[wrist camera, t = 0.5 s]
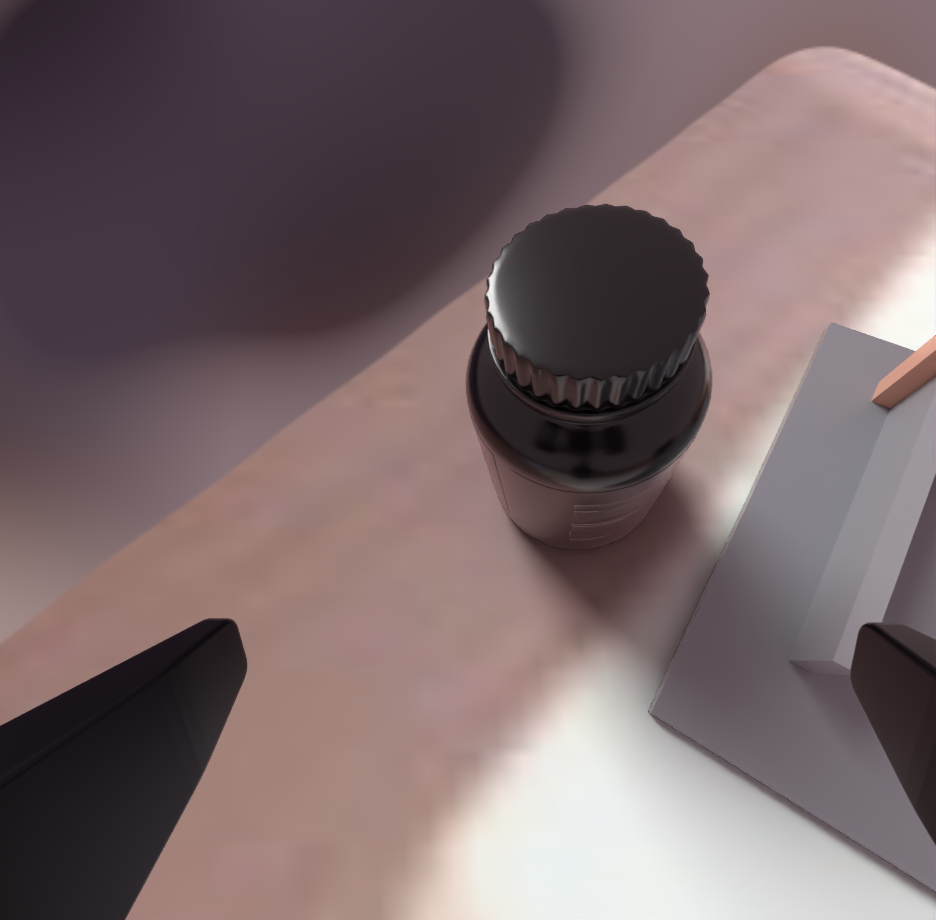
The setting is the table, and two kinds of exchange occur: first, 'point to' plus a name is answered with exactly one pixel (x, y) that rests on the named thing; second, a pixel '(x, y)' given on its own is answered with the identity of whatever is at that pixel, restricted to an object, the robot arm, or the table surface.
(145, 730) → the robot arm
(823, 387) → the bottle holder
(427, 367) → the table surface
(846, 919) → the table surface
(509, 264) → the supplement bottle
